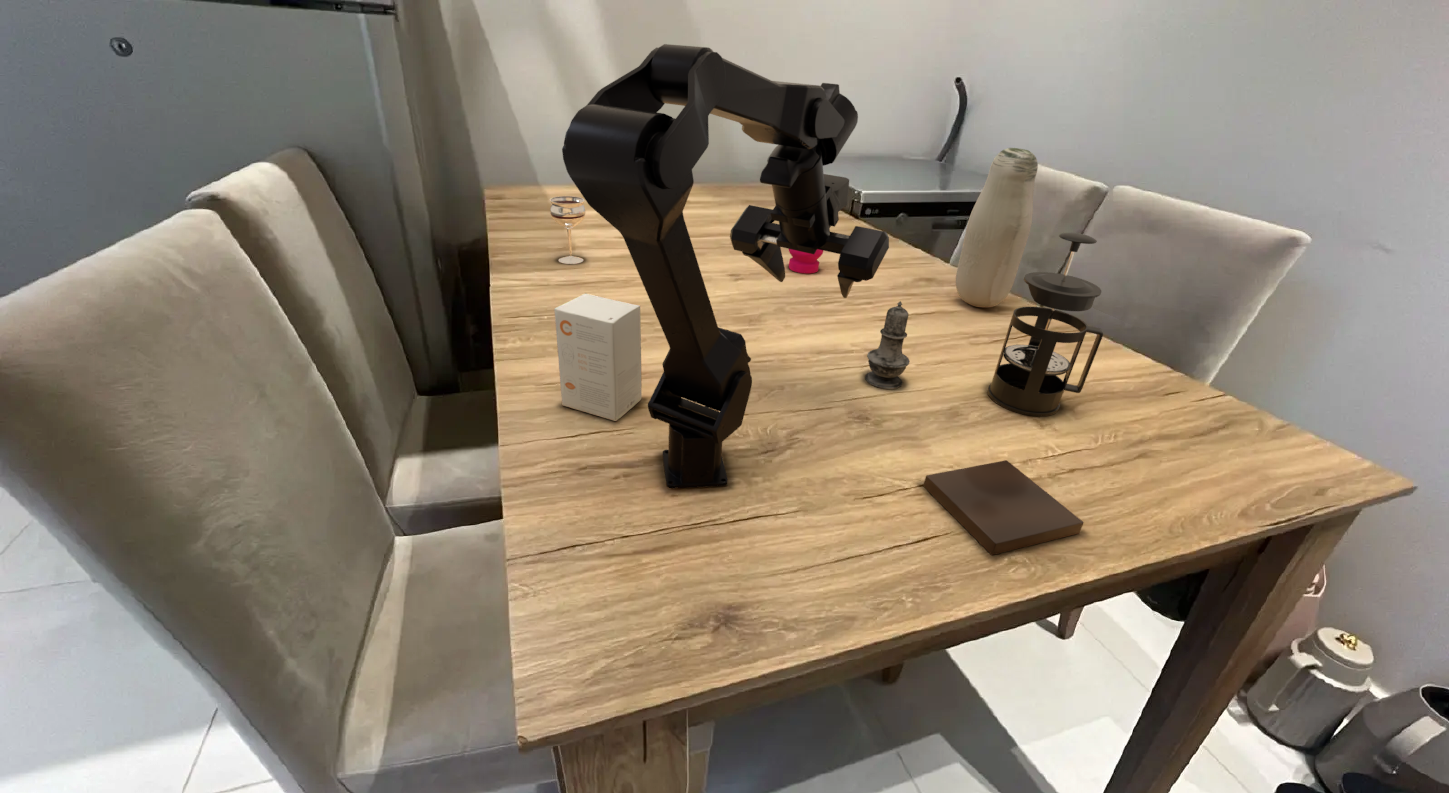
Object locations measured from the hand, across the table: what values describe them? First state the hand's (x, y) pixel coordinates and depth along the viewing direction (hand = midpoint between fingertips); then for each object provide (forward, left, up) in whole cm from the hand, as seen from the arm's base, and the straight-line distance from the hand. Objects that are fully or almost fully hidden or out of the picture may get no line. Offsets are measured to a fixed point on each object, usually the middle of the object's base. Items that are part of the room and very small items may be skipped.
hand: (813, 287), depth 83 cm
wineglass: (+52, +35, -13) cm, 64 cm away
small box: (-6, +28, -13) cm, 31 cm away
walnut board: (-30, -13, -13) cm, 35 cm away
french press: (-8, -30, -13) cm, 34 cm away
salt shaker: (-2, -12, -13) cm, 18 cm away
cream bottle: (+28, -42, -13) cm, 52 cm away
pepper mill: (+48, -13, -13) cm, 52 cm away
